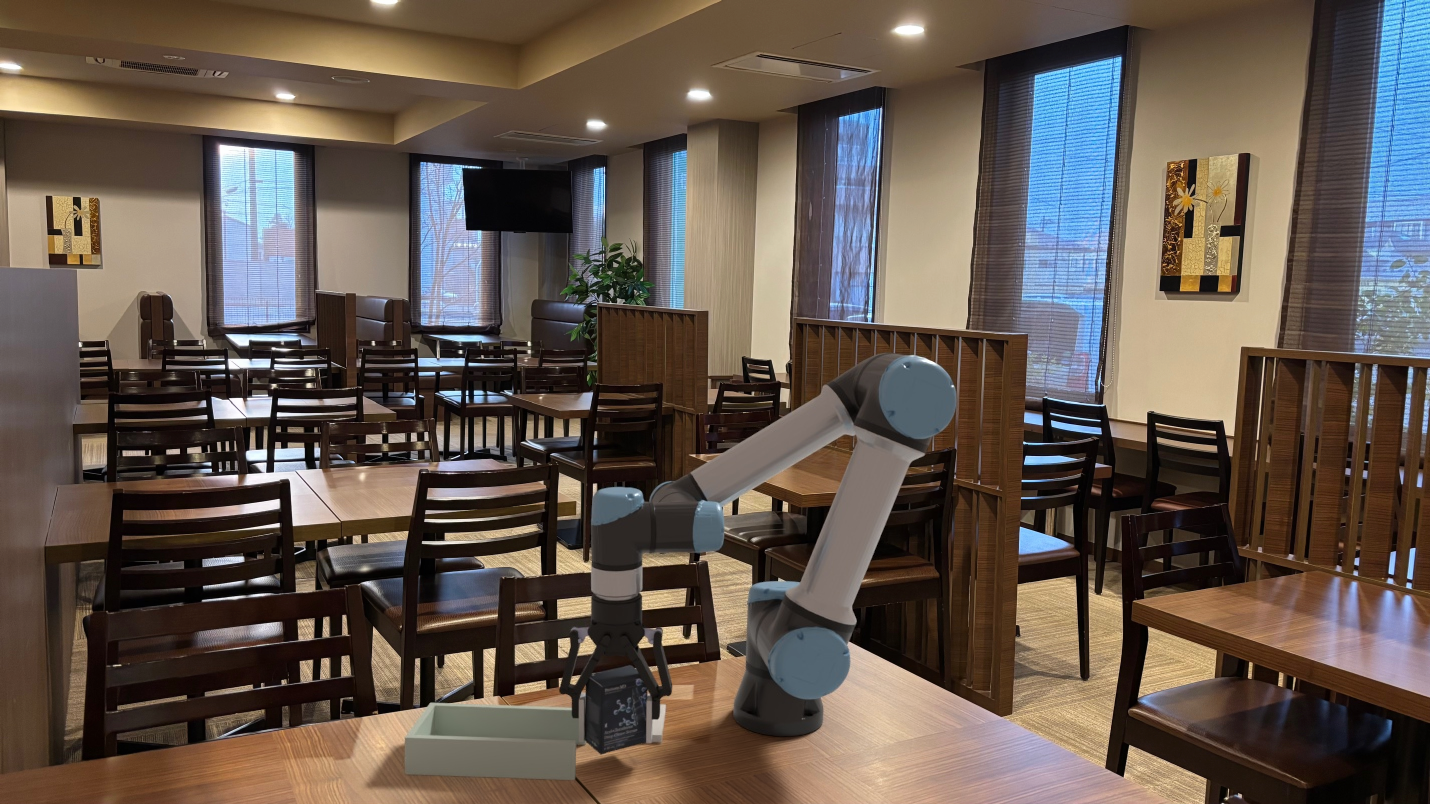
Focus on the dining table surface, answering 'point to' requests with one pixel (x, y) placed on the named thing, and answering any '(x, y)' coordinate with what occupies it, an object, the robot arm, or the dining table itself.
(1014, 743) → the dining table surface
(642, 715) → the box
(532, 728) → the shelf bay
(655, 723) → the plate
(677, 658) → the dining table surface
